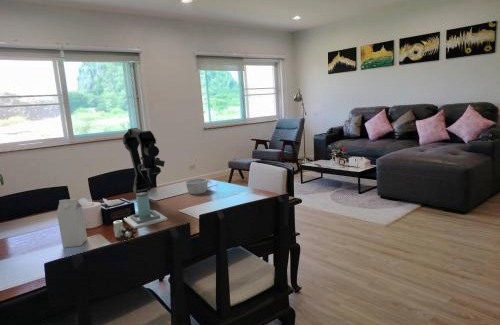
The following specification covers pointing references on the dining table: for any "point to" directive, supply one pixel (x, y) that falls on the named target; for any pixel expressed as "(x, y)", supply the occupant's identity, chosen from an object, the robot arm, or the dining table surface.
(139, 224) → the dock
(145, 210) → the cup
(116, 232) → the valve
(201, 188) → the ramekin
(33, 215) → the dining table surface
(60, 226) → the milk carton
